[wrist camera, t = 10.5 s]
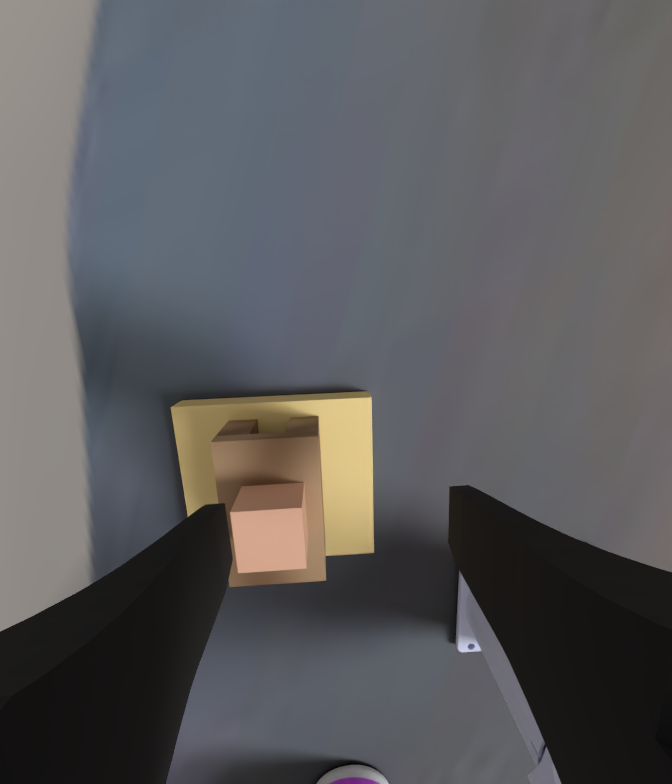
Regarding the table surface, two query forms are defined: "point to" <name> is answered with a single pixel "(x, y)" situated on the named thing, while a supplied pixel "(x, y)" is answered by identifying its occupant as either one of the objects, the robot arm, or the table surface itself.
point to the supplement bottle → (353, 776)
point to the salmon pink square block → (270, 528)
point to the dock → (336, 426)
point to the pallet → (273, 466)
